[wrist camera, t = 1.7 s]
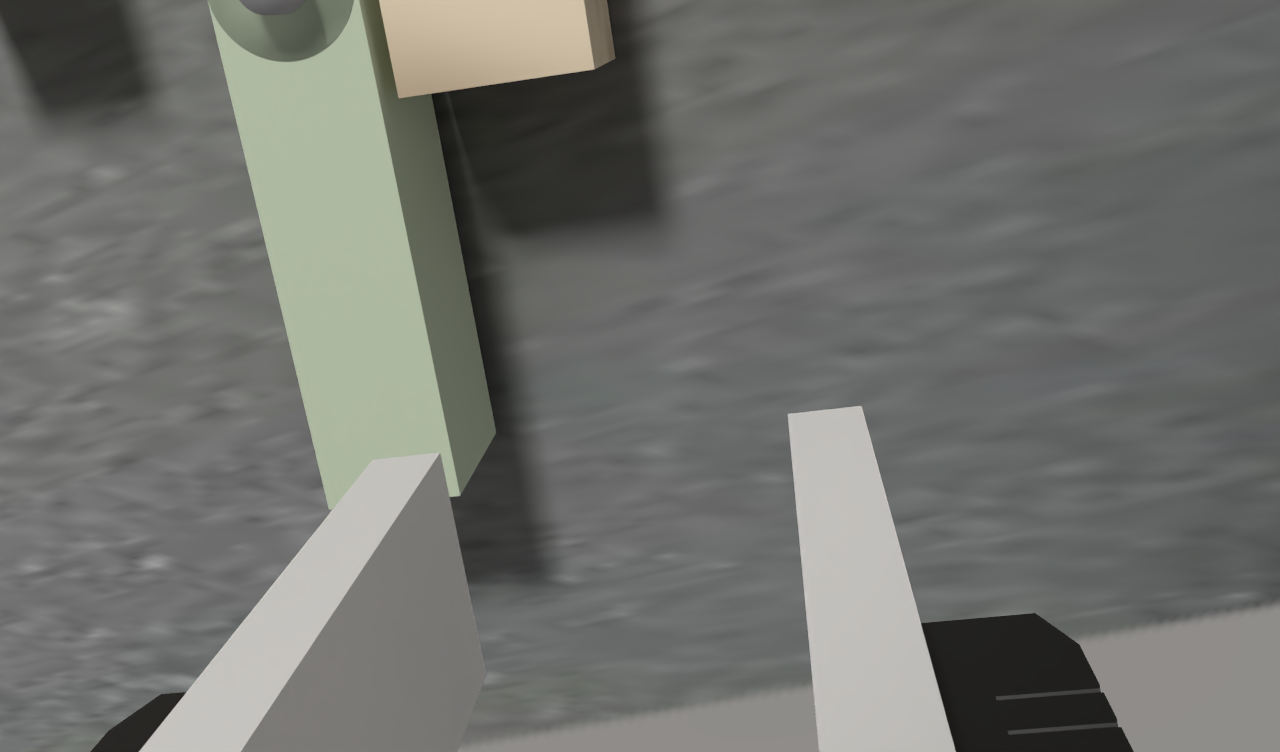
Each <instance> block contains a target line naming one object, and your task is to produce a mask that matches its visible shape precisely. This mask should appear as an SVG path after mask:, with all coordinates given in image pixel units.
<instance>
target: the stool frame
mask: <svg viewBox="0 0 1280 752" xmlns="http://www.w3.org/2000/svg"><path fill="white" fill-rule="evenodd" d="M379 3H380V8H381V13H382V18H383V23H384V28H385V33H386V38H387V43H388V48H389V53H390V58H391V63H392V68H393V73H394V78H395V83H396V88H397V93H398V98H405V97H412V96H418V95H425V94H432V93H439V92H445V91H452V90H459V89H466V88H472V87H479V86H486V85H493V84H499V83H506V82H513V81H520V80H527V79H533V78H540V77H547V76H554V75H560V74H567V73H574V72H581V71H587V70H594V69H596V68H598V67H600V66H602V65H604V64H606V63H608V62H610V61H612V60H614V59H616V58H615V51H614V45H613V38H612V31H611V24H610V18H609V11H608V4H607V0H379Z"/></svg>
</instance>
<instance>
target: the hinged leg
mask: <svg viewBox="0 0 1280 752" xmlns="http://www.w3.org/2000/svg"><path fill="white" fill-rule="evenodd" d="M208 4H209V8H210V13H211V17H212V21H213V25H214V29H215V33H216V38H217V42H218V46H219V50H220V54H221V59H222V63H223V67H224V71H225V75H226V80H227V84H228V88H229V92H230V96H231V101H232V105H233V109H234V113H235V117H236V122H237V126H238V130H239V134H240V138H241V143H242V147H243V151H244V155H245V159H246V164H247V168H248V172H249V176H250V180H251V184H252V189H253V193H254V197H255V201H256V205H257V210H258V214H259V218H260V222H261V226H262V231H263V235H264V239H265V243H266V247H267V252H268V256H269V260H270V264H271V268H272V273H273V277H274V281H275V285H276V289H277V294H278V298H279V302H280V306H281V310H282V315H283V319H284V323H285V327H286V331H287V335H288V340H289V344H290V348H291V352H292V356H293V361H294V365H295V369H296V373H297V377H298V382H299V386H300V390H301V394H302V398H303V403H304V407H305V411H306V415H307V419H308V424H309V428H310V432H311V436H312V440H313V445H314V449H315V453H316V457H317V461H318V466H319V470H320V474H321V478H322V482H323V486H324V491H325V495H326V499H327V503H328V507H329V510H331V509H334V507H335V506H336V505H337V504H338V502H339V501H340V500H341V499H342V497H343V496H344V495H345V494H346V492H347V491H348V490H349V489H350V487H351V486H352V485H353V484H354V482H355V481H356V480H357V479H358V477H359V476H360V475H361V474H362V473H363V471H364V470H365V469H366V468H367V466H368V465H369V464H370V463H371V461H372V460H375V459H384V458H394V457H403V456H412V455H421V454H430V453H439V452H440V453H441V458H442V463H443V468H444V473H445V477H446V482H447V487H448V492H449V497H455V496H461V494H462V492H463V490H464V489H465V487H466V485H467V483H468V482H469V480H470V478H471V476H472V474H473V473H474V471H475V469H476V467H477V466H478V464H479V462H480V460H481V459H482V457H483V455H484V453H485V452H486V450H487V448H488V446H489V445H490V443H491V441H492V439H493V438H494V436H495V434H496V429H495V424H494V418H493V413H492V408H491V403H490V398H489V392H488V387H487V382H486V377H485V371H484V366H483V361H482V356H481V351H480V345H479V340H478V335H477V330H476V325H475V319H474V314H473V309H472V304H471V298H470V293H469V288H468V283H467V278H466V272H465V267H464V262H463V257H462V252H461V246H460V241H459V236H458V231H457V225H456V220H455V215H454V210H453V205H452V199H451V194H450V189H449V184H448V179H447V173H446V168H445V163H444V158H443V152H442V147H441V142H440V137H439V132H438V126H437V121H436V116H435V111H434V106H433V100H432V95H431V94H425V95H418V96H412V97H405V98H398V93H397V88H396V83H395V78H394V73H393V68H392V63H391V58H390V53H389V48H388V43H387V38H386V33H385V28H384V23H383V18H382V13H381V8H380V3H379V0H208Z"/></svg>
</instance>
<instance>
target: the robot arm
mask: <svg viewBox="0 0 1280 752" xmlns="http://www.w3.org/2000/svg"><path fill="white" fill-rule="evenodd" d="M788 423H789V433H790V444H791V455H792V465H793V476H794V487H795V497H796V508H797V519H798V529H799V540H800V551H801V561H802V572H803V583H804V593H805V604H806V615H807V625H808V636H809V647H810V657H811V668H812V679H813V689H814V700H815V711H816V721H817V732H818V743H819V752H1133V750H1132V748H1131V746H1130V744H1129V742H1128V740H1127V738H1126V736H1125V734H1124V732H1123V730H1122V728H1121V727H1119V728H1118V724H1117V718H1116V716H1115V714H1114V712H1113V710H1112V708H1111V706H1110V705H1109V702H1108V700H1107V698H1106V696H1105V694H1104V693H1101V691H1100V685H1099V683H1098V681H1097V679H1096V677H1095V675H1094V673H1093V671H1092V669H1091V667H1090V665H1089V663H1088V661H1087V659H1086V657H1085V655H1084V653H1083V651H1082V649H1081V647H1080V645H1079V644H1078V643H1076V642H1075V641H1074V640H1072V639H1071V638H1069V637H1068V636H1067V635H1065V634H1064V633H1062V632H1061V631H1059V630H1058V629H1057V628H1055V627H1054V626H1052V625H1051V624H1050V623H1048V622H1047V621H1045V620H1044V619H1043V618H1041V617H1040V616H1038V615H1037V614H1035V613H1033V614H1022V615H1010V616H999V617H987V618H976V619H965V620H953V621H942V622H930V623H921V622H920V619H919V615H918V611H917V608H916V604H915V600H914V597H913V593H912V589H911V586H910V582H909V578H908V575H907V571H906V567H905V564H904V560H903V556H902V553H901V549H900V545H899V542H898V538H897V534H896V531H895V527H894V523H893V520H892V516H891V513H890V509H889V505H888V502H887V498H886V494H885V491H884V487H883V483H882V480H881V476H880V472H879V469H878V465H877V461H876V458H875V454H874V450H873V447H872V443H871V439H870V436H869V432H868V428H867V425H866V421H865V417H864V414H863V410H862V406H856V407H847V408H838V409H829V410H820V411H811V412H802V413H793V414H788ZM485 677H486V671H485V666H484V661H483V656H482V651H481V647H480V642H479V637H478V632H477V627H476V622H475V618H474V613H473V608H472V603H471V598H470V593H469V589H468V584H467V579H466V574H465V569H464V564H463V560H462V555H461V550H460V545H459V540H458V535H457V531H456V526H455V521H454V516H453V511H452V506H451V502H450V497H449V492H448V487H447V482H446V477H445V473H444V468H443V463H442V458H441V453H440V452H439V453H430V454H421V455H412V456H403V457H394V458H384V459H375V460H372V461H371V463H370V464H369V465H368V466H367V468H366V469H365V470H364V471H363V473H362V474H361V475H360V476H359V477H358V479H357V480H356V481H355V482H354V484H353V485H352V486H351V487H350V489H349V490H348V491H347V492H346V494H345V495H344V496H343V497H342V499H341V500H340V501H339V502H338V504H337V505H336V506H335V507H334V509H333V510H332V511H331V512H330V514H329V515H328V516H327V517H326V519H325V520H324V521H323V522H322V524H321V525H320V526H319V527H318V529H317V530H316V531H315V532H314V534H313V535H312V536H311V537H310V539H309V540H308V541H307V542H306V544H305V545H304V546H303V547H302V549H301V550H300V551H299V552H298V554H297V555H296V556H295V557H294V559H293V560H292V561H291V562H290V564H289V565H288V566H287V567H286V569H285V570H284V571H283V572H282V574H281V575H280V576H279V577H278V579H277V580H276V581H275V582H274V584H273V585H272V586H271V587H270V589H269V590H268V591H267V592H266V594H265V595H264V596H263V597H262V599H261V600H260V601H259V602H258V604H257V605H256V606H255V607H254V609H253V610H252V611H251V612H250V614H249V615H248V616H247V617H246V619H245V620H244V621H243V622H242V624H241V625H240V626H239V627H238V629H237V630H236V631H235V632H234V634H233V635H232V636H231V637H230V639H229V640H228V641H227V642H226V644H225V645H224V646H223V647H222V649H221V650H220V651H219V652H218V654H217V655H216V656H215V657H214V659H213V660H212V661H211V662H210V664H209V665H208V666H207V667H206V669H205V670H204V671H203V672H202V674H201V675H200V676H199V677H198V679H197V680H196V681H195V682H194V684H193V685H192V686H191V687H190V689H189V690H188V691H187V692H182V693H171V694H161V695H159V696H158V697H156V698H155V699H154V700H152V701H151V702H149V703H148V704H146V705H145V706H144V707H142V708H141V709H139V710H138V711H136V712H135V713H133V714H132V715H131V716H129V717H128V718H126V719H125V720H123V721H122V722H121V723H119V724H118V725H116V726H115V727H113V728H112V729H111V730H109V731H108V732H107V733H106V734H105V736H104V737H103V738H102V739H101V740H100V741H99V743H98V744H97V745H96V746H95V747H94V748H93V750H92V751H91V752H457V750H458V748H459V745H460V743H461V740H462V737H463V735H464V732H465V730H466V727H467V724H468V722H469V719H470V717H471V714H472V711H473V709H474V706H475V703H476V701H477V698H478V696H479V693H480V690H481V688H482V685H483V683H484V680H485Z"/></svg>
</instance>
